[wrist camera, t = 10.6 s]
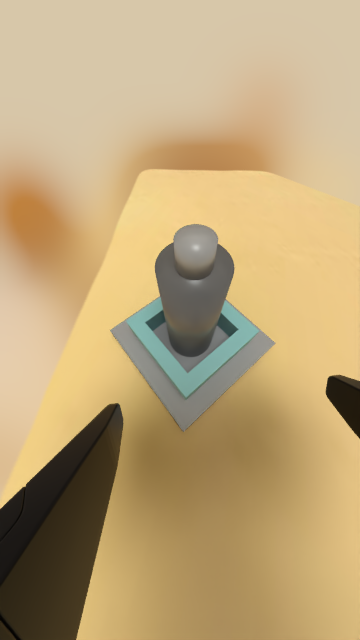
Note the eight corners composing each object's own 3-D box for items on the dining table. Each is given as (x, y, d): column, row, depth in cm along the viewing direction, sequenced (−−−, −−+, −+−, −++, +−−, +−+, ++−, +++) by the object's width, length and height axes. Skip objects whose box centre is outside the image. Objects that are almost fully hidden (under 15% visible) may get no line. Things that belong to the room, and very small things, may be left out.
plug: (203, 363, 21) (227, 287, 9) (162, 347, 22) (132, 259, 10) (216, 326, 23) (252, 221, 11) (179, 313, 24) (171, 203, 12)
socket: (183, 431, 19) (183, 434, 16) (112, 333, 24) (100, 319, 21) (271, 346, 23) (287, 333, 19) (194, 277, 28) (196, 256, 25)
